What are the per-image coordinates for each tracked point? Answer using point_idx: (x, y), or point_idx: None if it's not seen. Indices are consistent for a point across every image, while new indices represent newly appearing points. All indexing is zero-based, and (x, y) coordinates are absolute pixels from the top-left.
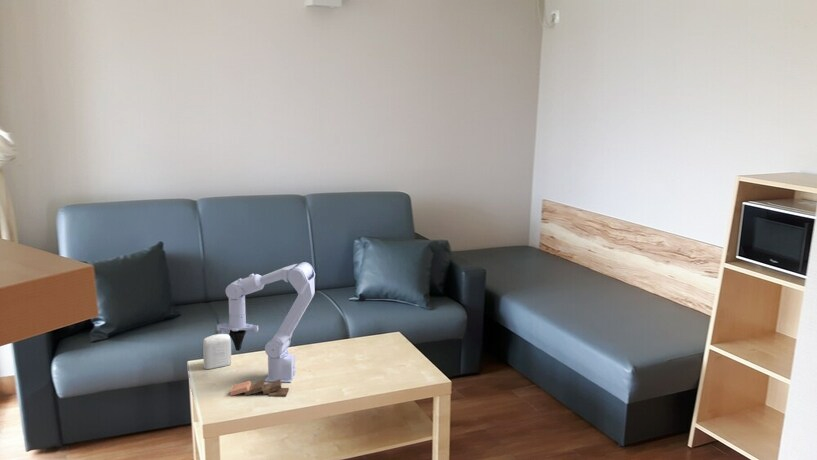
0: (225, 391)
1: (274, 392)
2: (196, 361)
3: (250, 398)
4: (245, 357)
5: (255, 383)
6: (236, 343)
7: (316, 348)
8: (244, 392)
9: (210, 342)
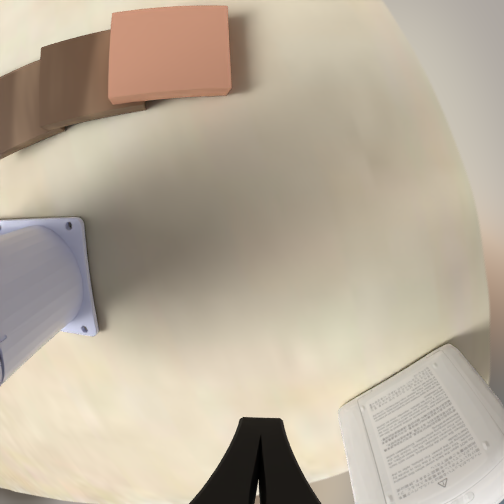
0: (276, 63)
1: None
2: None
3: None
4: None
5: (84, 105)
6: (265, 477)
7: (66, 483)
8: None
9: (499, 459)
